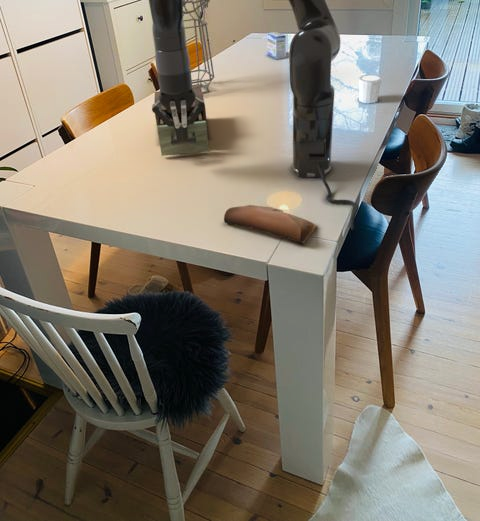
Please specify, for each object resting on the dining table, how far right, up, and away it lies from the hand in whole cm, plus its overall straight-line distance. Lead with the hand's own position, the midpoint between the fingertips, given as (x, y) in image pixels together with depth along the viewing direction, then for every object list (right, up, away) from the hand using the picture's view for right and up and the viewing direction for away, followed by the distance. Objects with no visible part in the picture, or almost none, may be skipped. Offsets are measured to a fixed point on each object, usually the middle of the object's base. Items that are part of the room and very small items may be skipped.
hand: (183, 140), depth 123 cm
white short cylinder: (+55, +21, +37) cm, 69 cm away
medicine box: (+29, +54, +82) cm, 102 cm away
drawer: (-1, +2, +15) cm, 15 cm away
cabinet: (-3, +9, +25) cm, 27 cm away
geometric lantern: (-2, +30, +54) cm, 62 cm away
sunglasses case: (+20, -22, -18) cm, 35 cm away
